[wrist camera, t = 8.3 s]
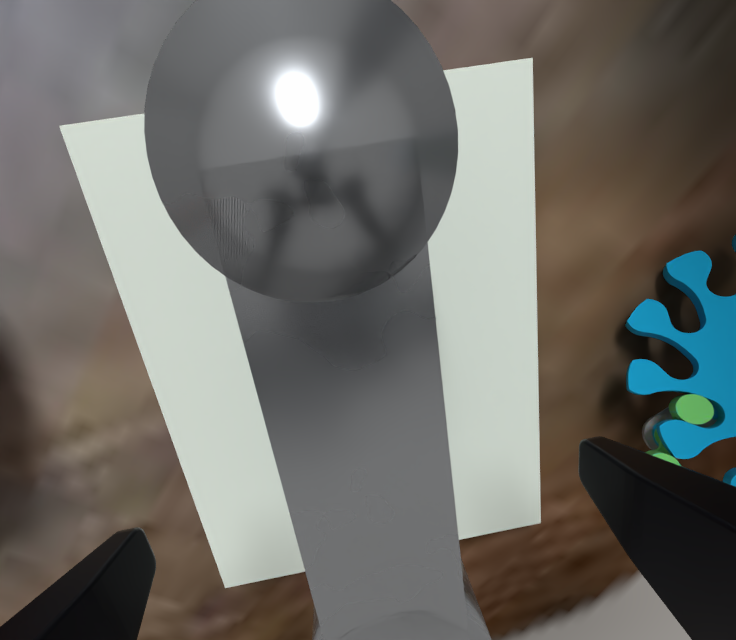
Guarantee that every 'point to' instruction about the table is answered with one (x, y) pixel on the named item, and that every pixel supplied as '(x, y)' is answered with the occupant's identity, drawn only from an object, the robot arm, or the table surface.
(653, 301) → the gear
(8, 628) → the robot arm
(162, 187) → the ball-ended metal rod
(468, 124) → the peg board
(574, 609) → the table surface
